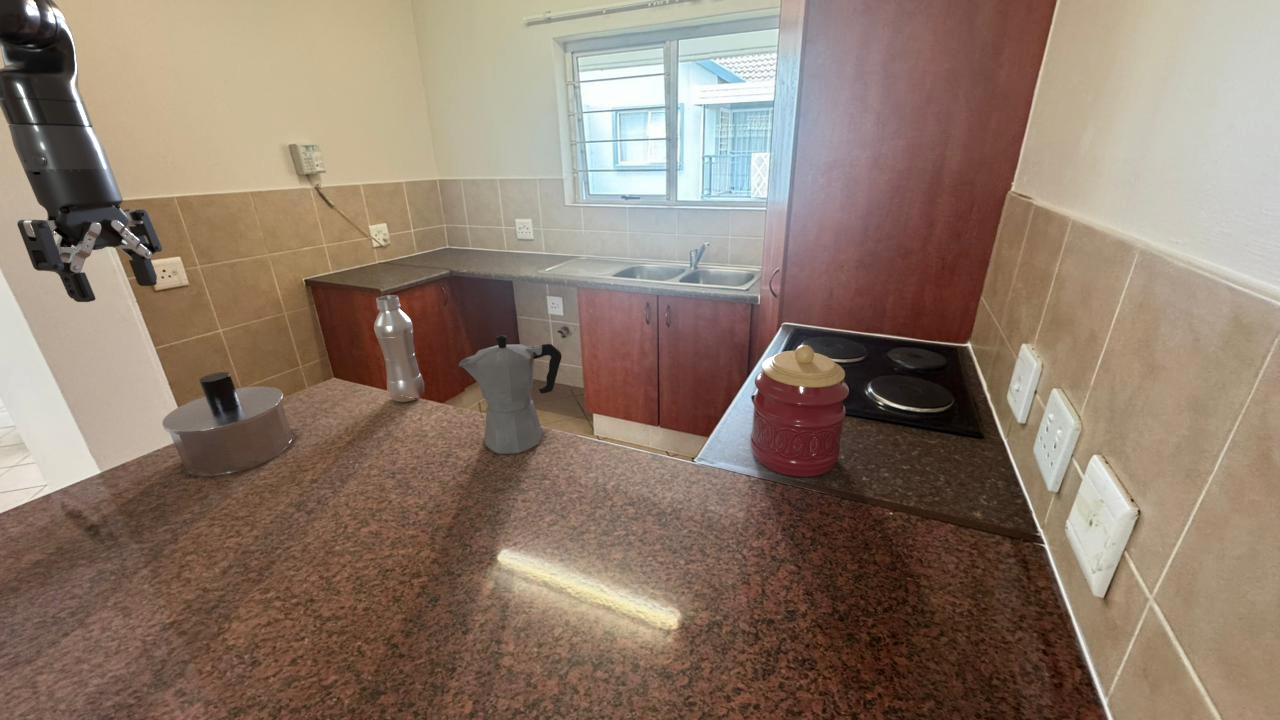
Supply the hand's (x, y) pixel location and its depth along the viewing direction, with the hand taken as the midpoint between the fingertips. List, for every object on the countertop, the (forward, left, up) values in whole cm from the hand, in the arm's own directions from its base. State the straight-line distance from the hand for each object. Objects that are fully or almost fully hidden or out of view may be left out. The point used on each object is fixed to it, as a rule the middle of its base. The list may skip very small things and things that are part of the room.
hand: (118, 293), depth 68 cm
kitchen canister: (+94, +2, -27) cm, 98 cm away
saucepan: (+8, +2, -26) cm, 27 cm away
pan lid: (+8, +2, -19) cm, 20 cm away
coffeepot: (+51, +6, -27) cm, 58 cm away
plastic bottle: (+26, +21, -27) cm, 42 cm away
